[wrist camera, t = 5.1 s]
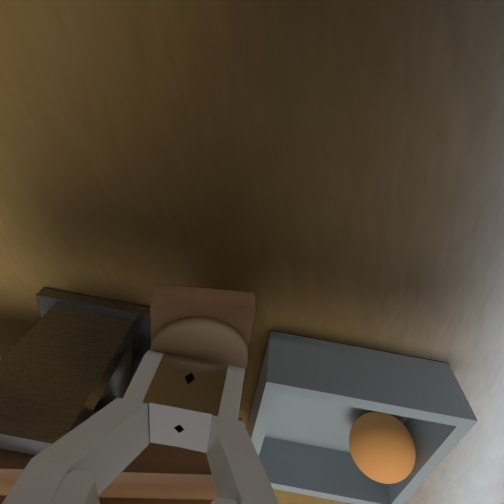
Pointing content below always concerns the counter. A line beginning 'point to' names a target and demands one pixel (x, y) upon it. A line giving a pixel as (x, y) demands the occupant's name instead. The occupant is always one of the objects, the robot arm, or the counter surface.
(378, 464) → the ball
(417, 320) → the counter surface
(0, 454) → the lever
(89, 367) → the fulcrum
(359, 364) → the tray
